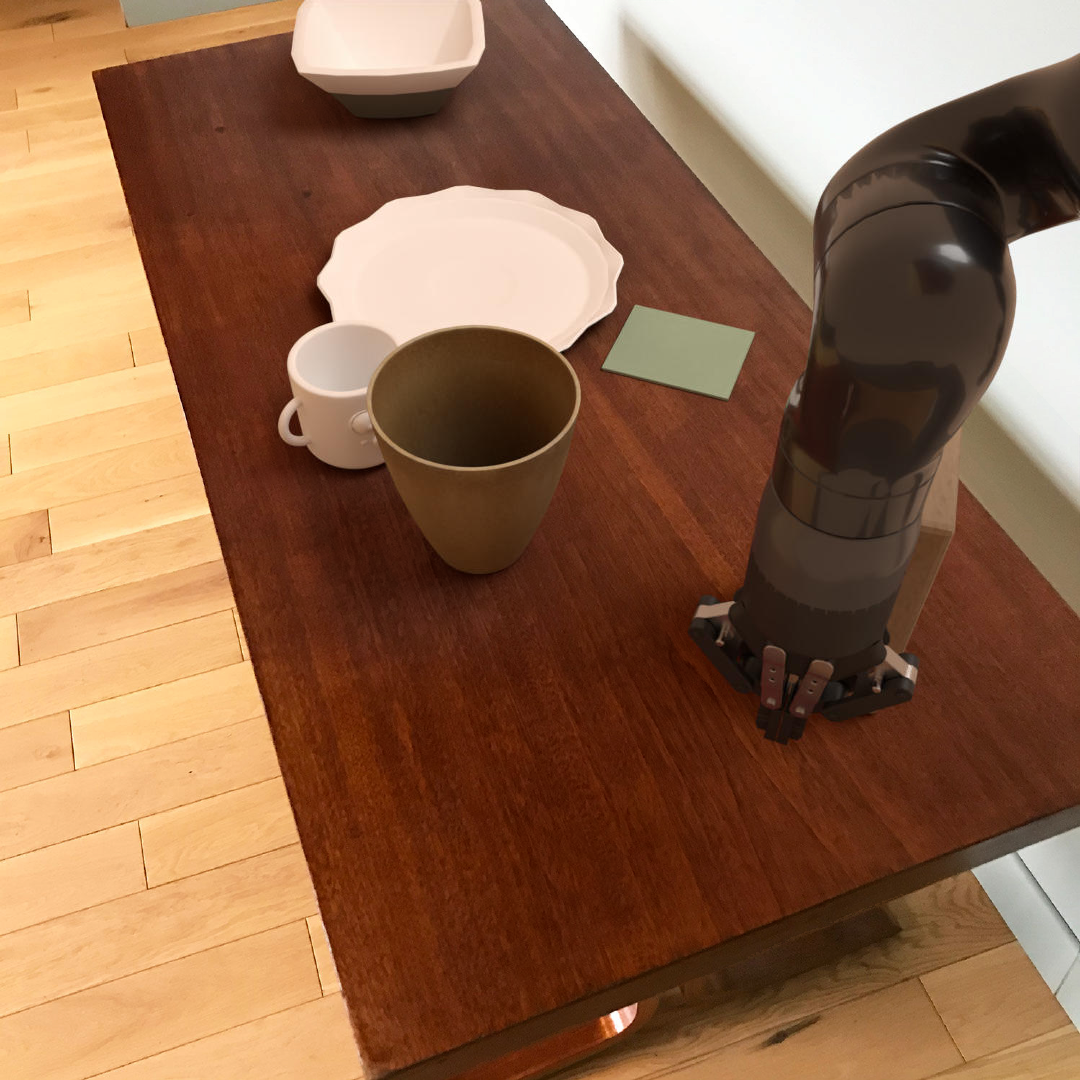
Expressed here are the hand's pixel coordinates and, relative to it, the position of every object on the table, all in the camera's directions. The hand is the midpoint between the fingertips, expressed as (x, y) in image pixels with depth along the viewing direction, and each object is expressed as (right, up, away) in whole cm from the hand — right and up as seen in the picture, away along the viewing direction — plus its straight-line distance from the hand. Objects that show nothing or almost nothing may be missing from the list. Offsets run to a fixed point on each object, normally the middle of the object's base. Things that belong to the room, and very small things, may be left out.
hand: (779, 730), depth 68 cm
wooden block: (+6, +4, +15) cm, 17 cm away
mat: (-1, +29, +37) cm, 47 cm away
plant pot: (-19, +11, +22) cm, 31 cm away
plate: (-21, +36, +43) cm, 61 cm away
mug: (-31, +20, +29) cm, 47 cm away
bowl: (-32, +66, +68) cm, 100 cm away
